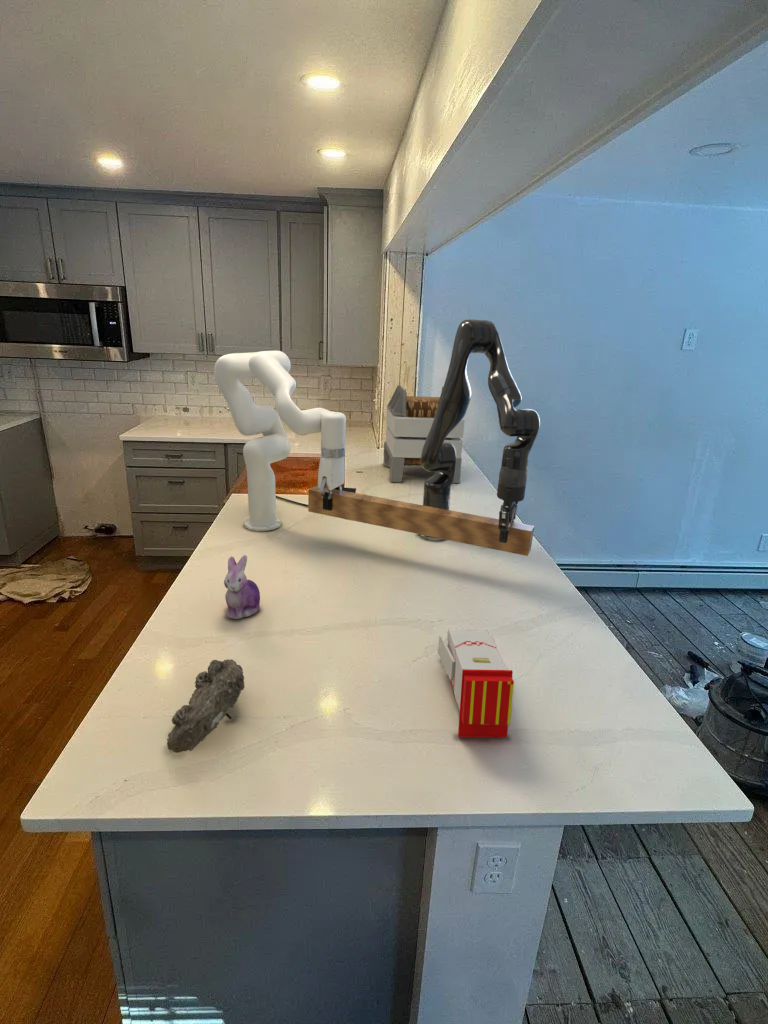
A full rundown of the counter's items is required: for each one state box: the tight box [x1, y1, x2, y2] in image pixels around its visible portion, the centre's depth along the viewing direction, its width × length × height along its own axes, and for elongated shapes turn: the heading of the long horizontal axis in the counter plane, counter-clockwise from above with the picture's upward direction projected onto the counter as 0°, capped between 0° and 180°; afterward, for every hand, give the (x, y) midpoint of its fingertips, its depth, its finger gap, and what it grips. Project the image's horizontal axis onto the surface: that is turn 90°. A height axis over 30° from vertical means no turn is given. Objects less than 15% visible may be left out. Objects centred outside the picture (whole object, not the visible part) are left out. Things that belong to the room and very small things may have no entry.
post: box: [307, 485, 535, 557], centre depth 172 cm, size 71×5×8 cm, turn 66°
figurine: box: [223, 554, 261, 620], centre depth 143 cm, size 9×10×15 cm
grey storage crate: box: [383, 384, 465, 484], centre depth 268 cm, size 34×33×41 cm
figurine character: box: [342, 486, 357, 493], centre depth 219 cm, size 7×8×15 cm
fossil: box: [166, 658, 245, 754], centre depth 106 cm, size 22×10×15 cm
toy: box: [437, 628, 515, 738], centre depth 117 cm, size 12×13×30 cm
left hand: (331, 506), depth 183 cm, fingers closed on post, 5 cm apart
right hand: (505, 538), depth 162 cm, fingers closed on post, 5 cm apart
